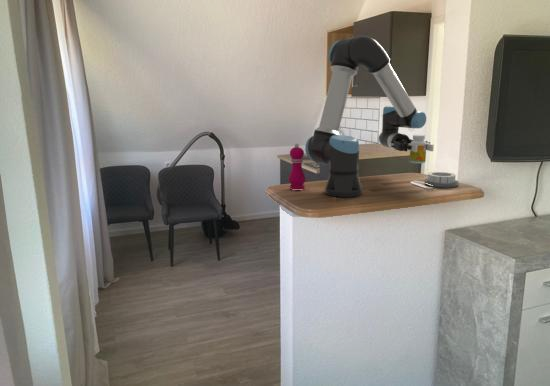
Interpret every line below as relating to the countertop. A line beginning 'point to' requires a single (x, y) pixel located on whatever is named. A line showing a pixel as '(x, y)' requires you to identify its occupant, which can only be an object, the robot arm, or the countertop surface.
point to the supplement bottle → (418, 149)
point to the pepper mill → (297, 168)
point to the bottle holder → (441, 179)
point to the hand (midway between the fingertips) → (424, 148)
